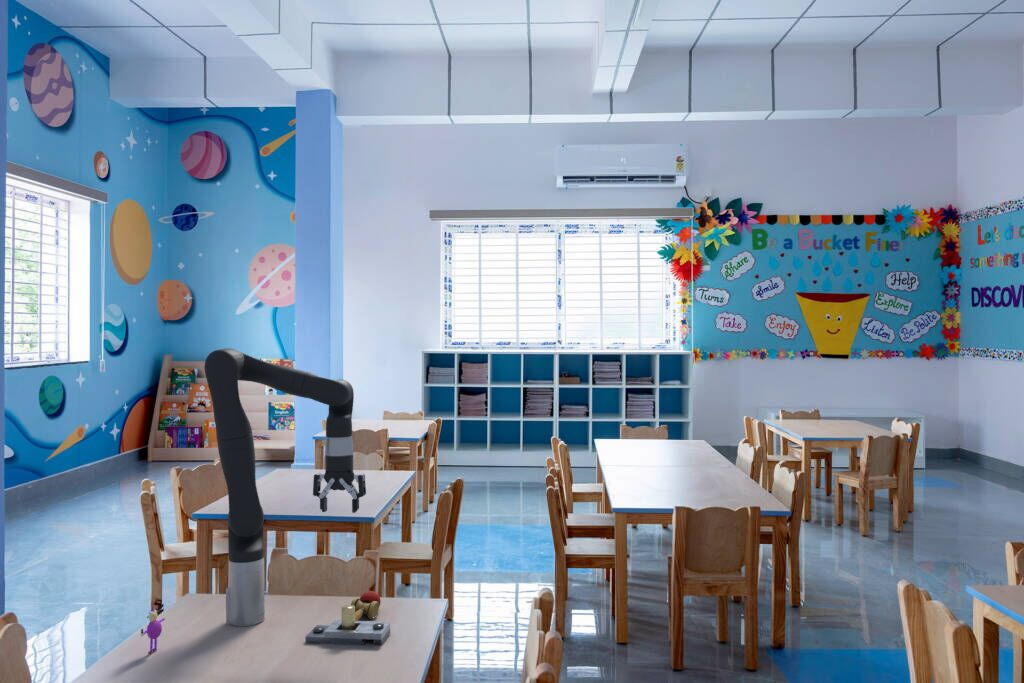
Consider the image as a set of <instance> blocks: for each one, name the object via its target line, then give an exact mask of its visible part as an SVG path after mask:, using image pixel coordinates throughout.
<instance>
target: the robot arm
mask: <svg viewBox="0 0 1024 683" xmlns="http://www.w3.org/2000/svg"><path fill="white" fill-rule="evenodd" d="M203 368H204V374H205V378H206V379H205V380H206V382H207V386H208V389H209V394H210V398H211V401H212V402H211V403H212V410H213V417H214V425H215V432H216V433H215V434H216V442H217V448H218V450H217V451H218V455H219V460H220V464H221V468H222V473H223V476H224V479H225V483H226V488H227V494H228V495H227V496H228V497H227V498H228V516H227V519H228V520H227V526H228V527H227V528H228V529H227V531H228V532H227V533H228V541H227V542H228V543H227V544H228V545H227V546H228V549H227V550H228V587H226V588H225V624H228V625H231V626H234V627H248V626H254V625H257V624H259V623H261V622H263V621H265V619H266V618H265V615H266V614H265V612H266V610H265V608H266V607H265V547H264V546H265V543H264V540H265V539H264V522H265V513H264V509H263V507H262V504H261V501H260V498H259V495H258V494H259V492H258V488H257V481H256V480H257V479H256V451H255V443H254V437H253V436H254V435H253V430H252V426H251V423H250V420H249V417H248V416H247V413H246V411H245V409H244V407H243V405H242V402H241V400H240V399H241V398H240V393H239V392H240V391H239V382H238V381H242V382H243V381H244V382H253V383H257V384H260V385H264V386H267V387H269V388H272V389H274V390H276V391H279V392H282V393H284V394H288V395H290V396H291V395H292V396H296V397H300V398H304V399H311V400H312V401H314V402H318V403H322V404H324V405H327V406H328V415H327V417H326V421H325V441H324V442H325V444H324V464H325V465H324V471H325V473H324V474H323V473H320V472H317V473H315V474H314V475H313V481H312V482H313V485H312V486H313V488H312V496H313V497H317V498H319V509H320V510H321V512H322V513H326V512H327V511H328V497H327V496H328V494H329V493H330V492H331V490H332V491H338V490H339V491H346V492H347V493H348V494H349V495H350V496H351V497H352V499H351V512H352V514H355V513H357V511H359V509H360V498H362V497H364V496H366V495H367V487H366V475H365V474H364V473H361V474H355V473H354V449H355V448H354V441H353V421H352V420H353V418H352V416H353V415H352V414H353V411H354V410H353V408H354V400H355V399H354V395H355V394H354V388H353V386H352V384H351V383H350V382H349V381H347V380H346V379H336V380H335V379H330V378H326V377H322V376H319V375H317V374H315V373H312V372H309V371H305V370H301V369H296V368H292V367H289V366H283V365H279V364H274V363H270V362H268V361H265V360H262V359H258V358H256V357H253V356H251V355H249V354H246V353H244V352H242V351H239V350H238V349H234V348H229V347H228V348H221V349H217V350H213V351H212V352H210V353H208V355H207V357H206V358H205V361H204V367H203ZM323 480H324V481H325V483H326V485H325V486H324V488H323V489H322V491H321V487H322V486H321V485H322V482H323ZM353 481H356V482H355V483H358V490H357V489H356V486H355V485H354V484H353Z"/></svg>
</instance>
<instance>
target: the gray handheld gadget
mask: <svg viewBox="0 0 1024 683" xmlns="http://www.w3.org/2000/svg"><path fill="white" fill-rule="evenodd" d="M390 635H391V622H390V621H373V620H370V621H369V620H366V621H365V620H359V621H355V630H342V619H340V620H339V619H335V620H333V621H332V623H330V625H326V624H317V625H315V626H314V627H313V629H311V630H310V631H309V632H308V633H307V634H306V636H305V643H307V644H311V643H312V644H335V645H353V646H356V645H358V646H359V645H360V646H362V645H364V644H365V642H366V641H367V640H373V646H383V645H384V643H385V642H386V641H387V639H388V637H389V636H390Z"/></svg>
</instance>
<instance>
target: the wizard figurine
mask: <svg viewBox="0 0 1024 683" xmlns="http://www.w3.org/2000/svg"><path fill="white" fill-rule="evenodd" d="M164 605H165V604H164V603H162V604H161V605H159V606H158V607H157V608H155V607H154V605H152V606H151V609H150V611H148V616H146V618H147V619H148V621H149V622H148V624H147V627H146V630H145V631H144V627H141V630H140V637H143V636H144V635H147V637H148V638H149V640H150V642H149V651H148V652H147V654H148V655H152V654H153V652H157V651H158V649H157V648H158V647H157V646H158V641H157V640H158V638H159V637H160V636H161V634H162V629H163V626H162V624H161V623H162V622H164V621H165V620H166V617H165V616H164V617H162V618H161V619H160V620H158V619H157V618H158V616H159V615H160V614H162V613H163V612H164V609H165V608H163V607H164ZM153 640H154V641H153ZM153 644H154V645H153ZM153 646H154V647H153Z"/></svg>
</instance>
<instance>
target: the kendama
mask: <svg viewBox="0 0 1024 683" xmlns="http://www.w3.org/2000/svg"><path fill="white" fill-rule="evenodd" d="M381 602H382V601H381V597H380V595H379V593H377V592H376V591H374V590H368V591H365V592H364V593H362V594H361V595H360V597H354V598H353V599H352V601H351V603H350V605H354V606H355V621H361V618H362V617H363V614H365V615H366V616H367V617H368V619H369V620H374V619H373V617H375V616H376V617H377V616H378V612H379V608H380V606H381ZM376 617H375V618H376Z"/></svg>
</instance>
